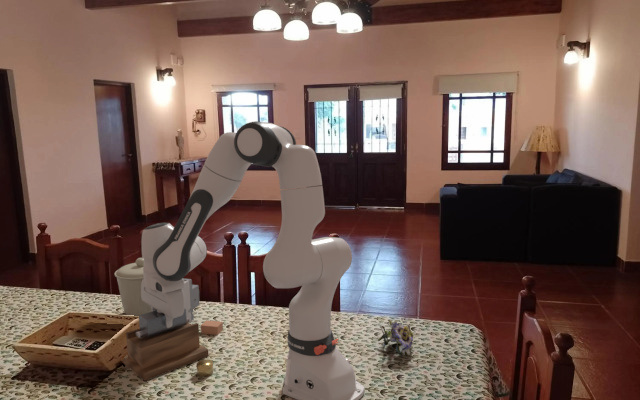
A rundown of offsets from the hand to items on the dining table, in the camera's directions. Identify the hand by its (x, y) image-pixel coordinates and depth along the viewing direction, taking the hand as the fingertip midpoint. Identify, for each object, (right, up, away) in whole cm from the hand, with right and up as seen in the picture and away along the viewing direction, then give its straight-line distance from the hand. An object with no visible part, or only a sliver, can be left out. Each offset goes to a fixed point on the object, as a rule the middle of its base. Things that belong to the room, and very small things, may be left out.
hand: (163, 323), depth 141 cm
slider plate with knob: (0, -2, 0) cm, 2 cm away
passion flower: (+69, -10, +5) cm, 70 cm away
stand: (0, -11, +2) cm, 11 cm away
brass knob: (+14, -12, -7) cm, 20 cm away
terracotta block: (+10, -8, +20) cm, 24 cm away
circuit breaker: (-3, -7, +30) cm, 31 cm away
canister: (-19, -6, +35) cm, 40 cm away
